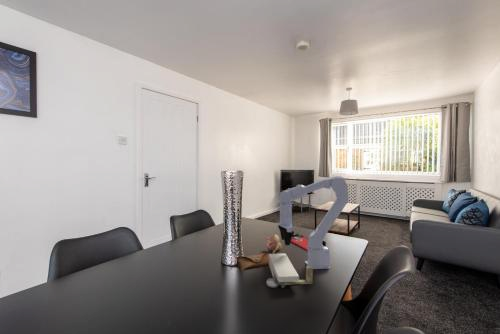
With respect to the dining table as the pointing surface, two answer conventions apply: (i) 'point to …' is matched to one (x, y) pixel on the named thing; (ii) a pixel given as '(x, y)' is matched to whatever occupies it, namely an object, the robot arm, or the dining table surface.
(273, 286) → the steel puck
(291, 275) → the cream cabinet
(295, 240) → the red board with handle
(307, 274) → the wood scraper
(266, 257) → the sunglasses case
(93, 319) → the dining table surface
